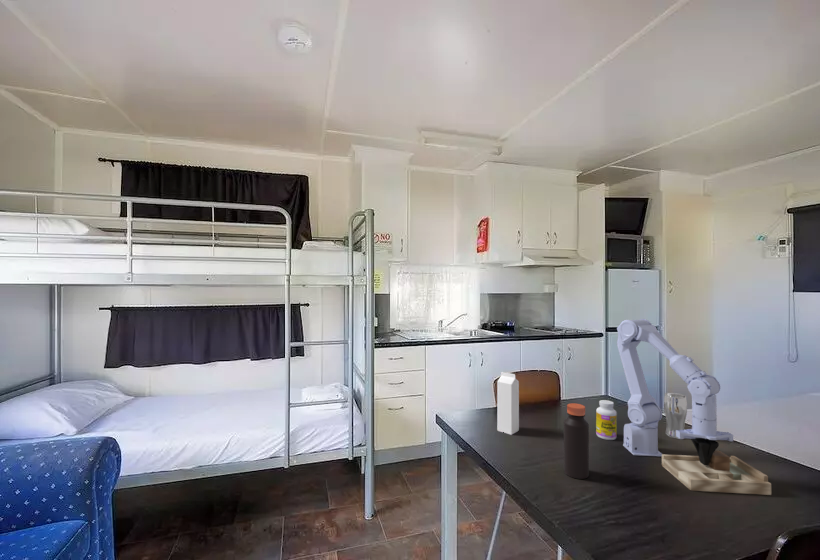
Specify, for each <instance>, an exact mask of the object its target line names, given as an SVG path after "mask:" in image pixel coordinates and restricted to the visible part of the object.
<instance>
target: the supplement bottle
mask: <svg viewBox="0 0 820 560" xmlns="http://www.w3.org/2000/svg"><path fill="white" fill-rule="evenodd" d="M598 404H599V406H598V407H597V408H596V411H595V412H596V414H595V416H596V417H595V418H596V419H595V428H596V430H595V433H596V436H597V437H598V438H599V439H603V440H607V441H613V440H616V439H617V434H618V432H617V431H618V430H617V428H618V427H617V425H618V423H617V421H618V420H617V419H618V418H617V417H618V412H617V410H615V409H614V407H615V403H614V401H612V400H608V399H607V400H606V399H602V400H601V399H600V400H599V401H598Z"/></svg>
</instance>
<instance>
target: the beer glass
mask: <svg viewBox="0 0 820 560" xmlns="http://www.w3.org/2000/svg"><path fill="white" fill-rule="evenodd" d="M663 399H664V400H663V406H664V408H663V409H664V415H665V420H666V429H665V435H666V436H668V437H669V438H673V439H677V440H680V439H679V438H678V437H676V430H685V426H686V425H685V424H686V420H687V415H688V402H687V401H688V400H687V395H684V394H682V393H678V392H677V393H676V392H665V393H664V397H663ZM684 439H686V438H683V439H682V440H684Z"/></svg>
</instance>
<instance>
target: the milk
mask: <svg viewBox="0 0 820 560" xmlns="http://www.w3.org/2000/svg"><path fill="white" fill-rule="evenodd" d="M496 386H497V387H496V388H497V389H496V390H497V393H496V394H497V397H496V398H497V399H496V400H497V403H496V404H497V407H496V408H497V410H496V411H497V415H496V416H497V420H496V421H497V422H496V423H497V424H496V425H497V427H496V430H497V431H498V432H500V433H503V432H504V434H507V435H510V436H512V435H515V434H516V433H517V432H518V431H519V430H520V406H519V405H520V390H519V389H520V381H519V380H518V379H517V378H516V374H515V373H512V372H511V373H510V372H505V371H501V372H500V377H499V378H498V379H497V385H496Z"/></svg>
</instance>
